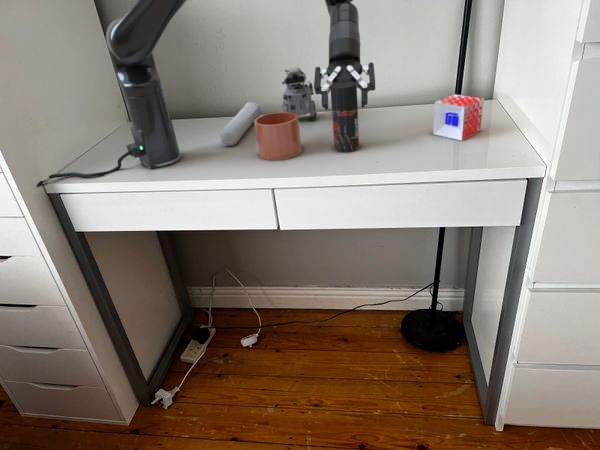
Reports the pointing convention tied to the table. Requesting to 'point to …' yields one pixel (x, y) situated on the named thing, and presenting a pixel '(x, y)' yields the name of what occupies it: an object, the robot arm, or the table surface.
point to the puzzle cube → (458, 116)
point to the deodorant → (345, 116)
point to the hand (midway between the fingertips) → (344, 107)
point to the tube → (240, 124)
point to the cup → (278, 135)
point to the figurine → (298, 94)
